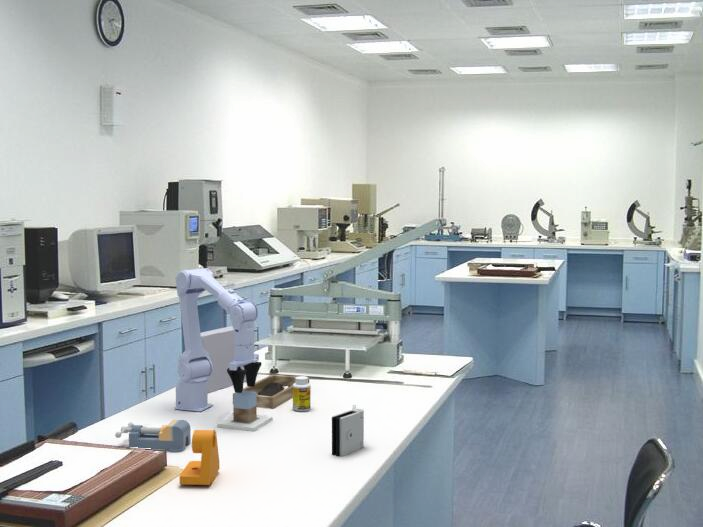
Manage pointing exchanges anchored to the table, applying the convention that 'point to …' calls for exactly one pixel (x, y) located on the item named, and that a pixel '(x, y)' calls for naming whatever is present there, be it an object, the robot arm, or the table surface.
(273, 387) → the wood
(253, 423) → the board
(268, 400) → the plank frame
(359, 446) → the hinge
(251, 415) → the walnut block
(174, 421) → the vise
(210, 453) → the bracket
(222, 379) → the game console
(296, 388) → the supplement bottle
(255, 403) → the blue block
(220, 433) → the table surface
